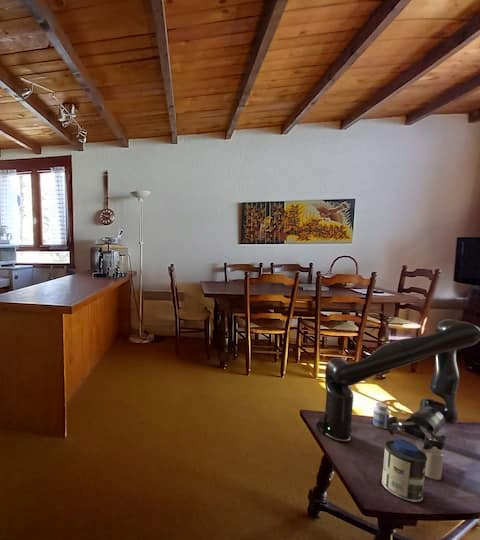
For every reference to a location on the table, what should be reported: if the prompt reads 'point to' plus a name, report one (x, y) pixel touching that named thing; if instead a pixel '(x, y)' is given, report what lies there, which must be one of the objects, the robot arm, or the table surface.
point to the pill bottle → (380, 415)
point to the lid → (405, 447)
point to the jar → (434, 462)
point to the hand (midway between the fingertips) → (407, 439)
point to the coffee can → (404, 473)
